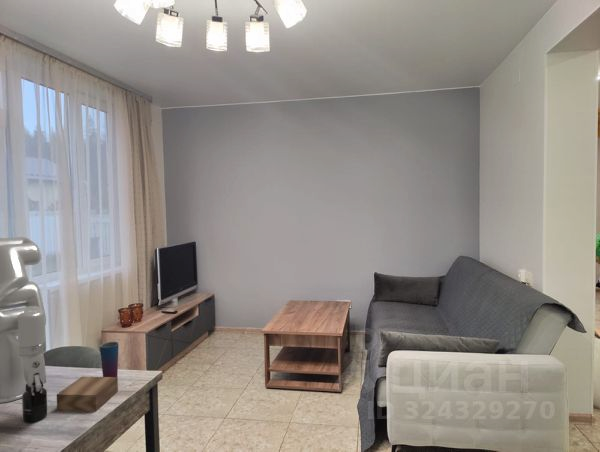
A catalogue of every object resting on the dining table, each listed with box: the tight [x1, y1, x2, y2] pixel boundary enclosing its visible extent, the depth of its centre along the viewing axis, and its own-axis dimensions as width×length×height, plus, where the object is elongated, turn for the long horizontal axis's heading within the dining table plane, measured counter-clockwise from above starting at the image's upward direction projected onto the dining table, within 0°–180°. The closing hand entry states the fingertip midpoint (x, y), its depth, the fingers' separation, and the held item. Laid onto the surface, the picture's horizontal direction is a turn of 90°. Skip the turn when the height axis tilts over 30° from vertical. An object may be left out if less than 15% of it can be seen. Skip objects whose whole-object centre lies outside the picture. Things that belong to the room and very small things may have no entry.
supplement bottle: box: [21, 382, 48, 424], centre depth 128 cm, size 7×7×12 cm
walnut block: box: [56, 376, 119, 412], centre depth 139 cm, size 14×14×6 cm
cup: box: [99, 341, 120, 377], centre depth 155 cm, size 7×7×15 cm
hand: (34, 401), depth 128 cm, fingers closed on supplement bottle, 6 cm apart
